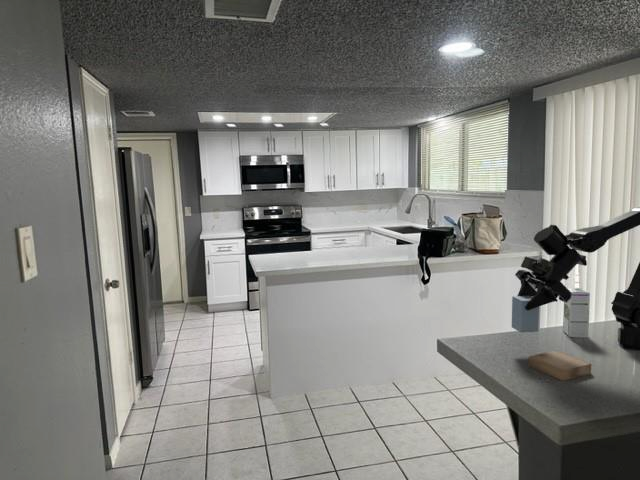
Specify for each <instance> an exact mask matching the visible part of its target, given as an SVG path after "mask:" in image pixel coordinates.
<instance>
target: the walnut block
mask: <svg viewBox="0 0 640 480" xmlns="http://www.w3.org/2000/svg"><path fill="white" fill-rule="evenodd" d="M528 367H530V368H533V369H535V370H538V371H540V372H541V373H544V374H546V375H549V376H551V377H553V378H555V379H557V380H560V381H562V382H564V381H566V380H567V381H568V380H571V379H574V378H578V376H579V377H582V376H586V375H591V374H592V363H590V362H588V361H586V360H583V359H581V358H577V357H575V356H573V355H569V354H567V353H564V352H562V351H559V350H552V351H548V352H542V353H538V354H534V355H530V356H528Z"/></svg>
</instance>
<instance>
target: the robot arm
mask: <svg viewBox="0 0 640 480" xmlns="http://www.w3.org/2000/svg"><path fill="white" fill-rule="evenodd" d="M639 226H640V207H638V206H637V207H634V208H633V209H631V210H630V211H628V212H625V213H623V214H619V215H618V216H616V217H614V218H612V219H609V220H608V221H605V222H603V223H600V224H599V225H595V226H590V227H589V226H588V227H583V228H579V229H576V230H573V231H572V232H570V233H569V234H564V233H563V232H562V231H561V230H560V228H559V227H558V226H557V225H556V224H550V225H549V226H548V227H545V228H542V229H541V230H540V231H537V233H536V234H534V237H533V241H534V242H535V244H536V245H538V247H540V248H541V249H542V251H543V252H544V253H545V254H546V255H548V256H553V257H552V258H551V259H549V260H548V259H545V258H539V259H536V258H532V257H528V256H524V258H523V260H522V262H521V265H520V267H521V268H523V269H519V270H517V271H516V272H515V274H514V276H515V277H516V278H517V279H518V280H519V281H520V288H519V291H518V294H517V295H516V296H531V297H532V299H531V300H530V301H529V302H528V304H527V305H526V307H525V309H526V310H531V309H534V308H536V307H539V308H540V307H541V306H545V305H547V304H551V303H553V302H554V303H555V302H558V301H560V302H563V303H564V302H565V303H567V302H568V301H569V300H570V299H571V295H572V293H571V292H570V291H569V290H568V289H567V288H568V287H567V286H565V285H564V284H563V282H562V280H565V281H567V280H568V279H570V277H569V275H568V274H569V273H570V272H571V271H572V270H573V269H574V268H575V267H576V266H577V265H580V266H585V267H586V266H587V265H588V263H587V256H586V255H583V254H581V253H579V252H584V253H589V254H590V253H594V252H596V251H597V250H599V249H601V248H602V247H604V246H605V244H606V243H607V242H608V241H609V240H611V239H613V238H614V237H617V236H619V235H621V234H624V233H625V232H628V231H630V230H632V229H635V228H636V227H639ZM524 268H525V269H527V270H525V269H524ZM530 271H531V272H530ZM557 298H558V299H557ZM610 303H611V305H612V306H611V311H612V314H613V316H614V318H615V321H616V322H617V323H620V327H618V329H617V342H618V343H619V345H620V346H621V347H622V348H623V349H629V350H638V351H640V261H639V263H638V264H637V267H636V269H635V272H634V275H633V276H632V278H631V281H630V284H629V285H628V287H627V289H625V290H624V291H623V292H621V291H616V293H615V296H614V298H613V301H611V302H610Z"/></svg>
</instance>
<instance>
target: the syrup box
mask: <svg viewBox="0 0 640 480" xmlns="http://www.w3.org/2000/svg"><path fill="white" fill-rule="evenodd" d="M566 288H567V289H568V290H569V291H570V292H571V293H572V295H571V299H570V300H569V301H568V302H567V303H565V302H563V321H562V324H563V325H562V331H563V332H564V334H565V335H567V337H569V338H579V339H580V338H581V339H582V338H583V339H588V338H589V327H590V301H591V299H590V297H591V294H590V291H588V290H586V289H584V288H582V287H581V288H580V287H566Z"/></svg>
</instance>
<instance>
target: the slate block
mask: <svg viewBox="0 0 640 480" xmlns="http://www.w3.org/2000/svg"><path fill="white" fill-rule="evenodd" d="M531 299H532V297H531V296H517V295H515V296H512V298H511V300H512V301H511V328H512V329H514V330H516V331H517V332H519V333H520V334H522V333H538V332H539V324H540V323H539V321H540V318H539V317H540V306H539V307H536V308H534V309H531V310H526V309H525V307H526V305H527V304H528V302H529V301H530V300H531Z"/></svg>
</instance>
